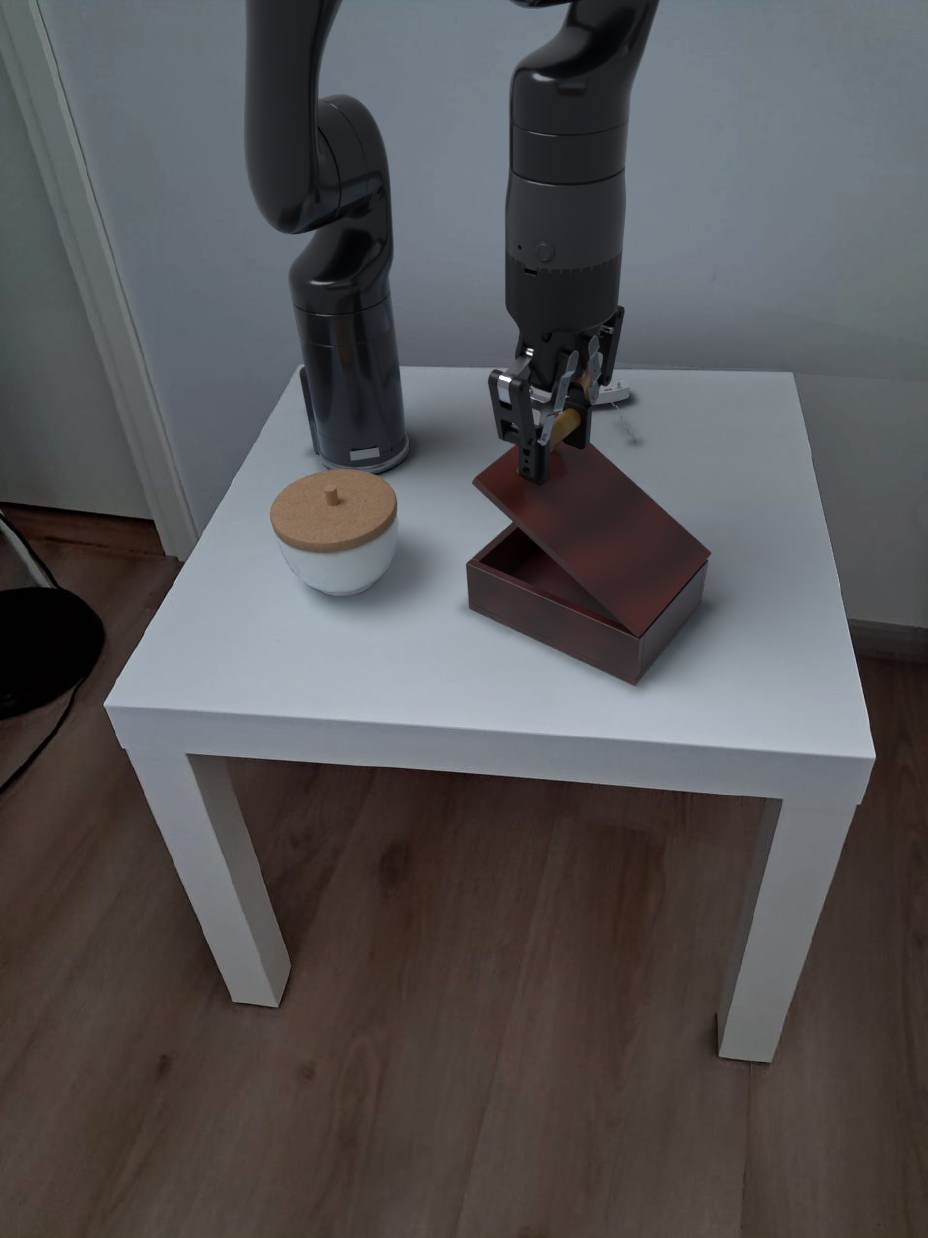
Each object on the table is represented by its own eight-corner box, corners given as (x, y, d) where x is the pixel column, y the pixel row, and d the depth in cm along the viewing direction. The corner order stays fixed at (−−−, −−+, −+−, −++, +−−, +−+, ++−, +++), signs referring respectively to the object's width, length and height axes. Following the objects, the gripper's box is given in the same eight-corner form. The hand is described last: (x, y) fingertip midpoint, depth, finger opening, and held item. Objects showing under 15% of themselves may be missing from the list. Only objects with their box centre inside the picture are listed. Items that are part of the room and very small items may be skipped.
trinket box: (388, 620, 79) (374, 532, 73) (269, 608, 81) (246, 521, 75) (418, 542, 87) (408, 456, 81) (308, 533, 89) (290, 448, 83)
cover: (470, 483, 70) (494, 442, 66) (552, 417, 76) (579, 376, 72) (637, 638, 69) (672, 605, 65) (706, 558, 75) (742, 524, 71)
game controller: (609, 382, 106) (610, 361, 105) (676, 426, 99) (679, 405, 97) (568, 397, 104) (569, 376, 103) (633, 443, 97) (635, 421, 95)
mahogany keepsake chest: (468, 608, 80) (465, 563, 76) (541, 541, 86) (541, 496, 83) (635, 686, 72) (639, 639, 69) (701, 606, 78) (708, 559, 75)
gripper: (574, 192, 65) (564, 406, 77) (448, 265, 57) (458, 491, 69) (670, 214, 62) (645, 434, 74) (550, 295, 54) (543, 528, 66)
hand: (555, 461), depth 71 cm, fingers closed on cover, 5 cm apart
